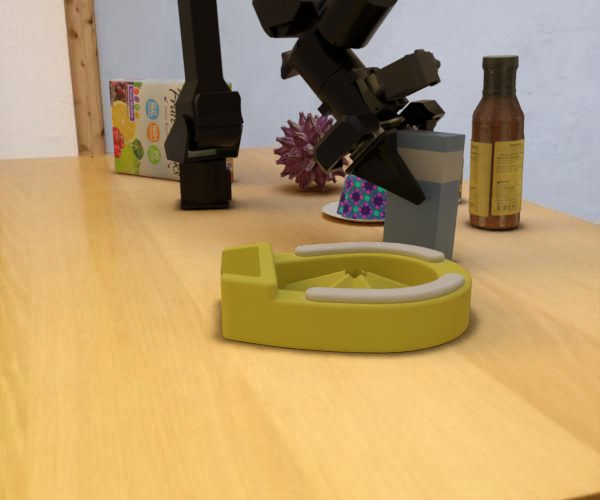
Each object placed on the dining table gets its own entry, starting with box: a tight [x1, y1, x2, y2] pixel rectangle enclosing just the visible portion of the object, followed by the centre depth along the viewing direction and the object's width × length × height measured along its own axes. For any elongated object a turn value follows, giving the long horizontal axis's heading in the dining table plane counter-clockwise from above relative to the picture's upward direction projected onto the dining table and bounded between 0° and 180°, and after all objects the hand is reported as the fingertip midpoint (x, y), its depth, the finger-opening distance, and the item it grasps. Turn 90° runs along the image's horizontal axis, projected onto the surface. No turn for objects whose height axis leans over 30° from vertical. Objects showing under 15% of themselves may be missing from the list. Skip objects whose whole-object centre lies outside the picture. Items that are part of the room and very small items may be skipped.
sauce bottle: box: [468, 54, 526, 230], centre depth 94 cm, size 7×6×20 cm
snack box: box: [108, 78, 235, 182], centre depth 125 cm, size 21×6×15 cm, turn 58°
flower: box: [273, 111, 351, 192], centre depth 116 cm, size 12×12×12 cm
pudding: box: [321, 174, 387, 223], centre depth 101 cm, size 12×12×5 cm
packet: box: [382, 129, 467, 262], centre depth 81 cm, size 6×4×13 cm
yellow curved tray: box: [220, 241, 473, 354], centre depth 67 cm, size 16×21×5 cm
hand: (434, 197), depth 80 cm, fingers closed on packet, 5 cm apart
